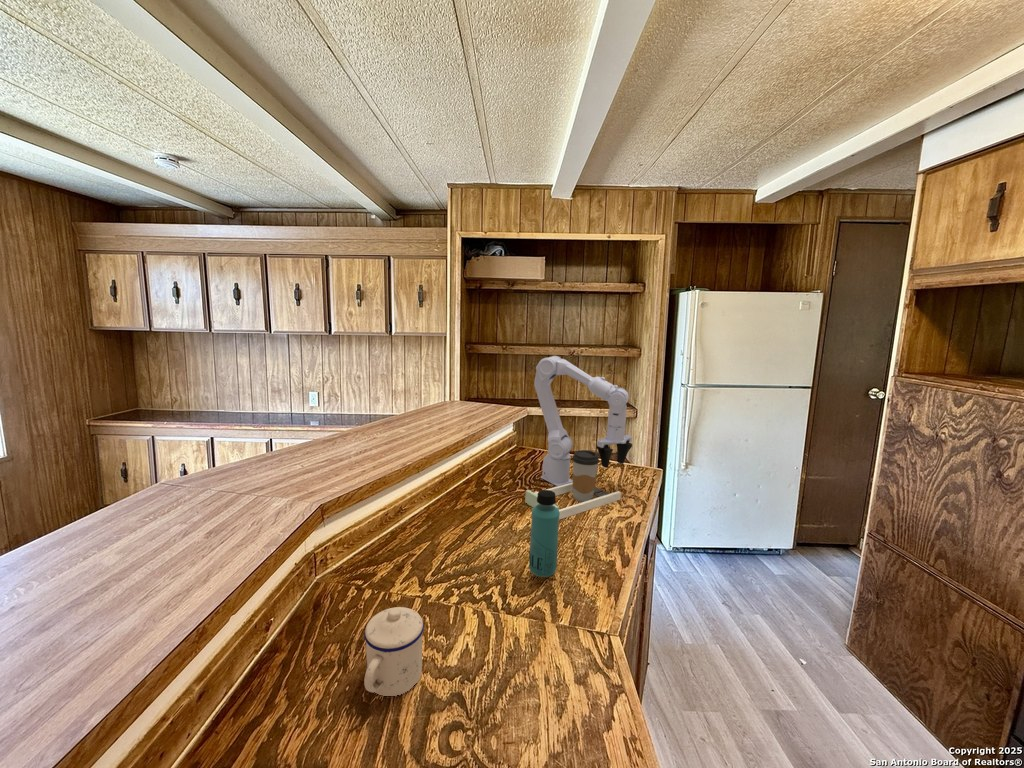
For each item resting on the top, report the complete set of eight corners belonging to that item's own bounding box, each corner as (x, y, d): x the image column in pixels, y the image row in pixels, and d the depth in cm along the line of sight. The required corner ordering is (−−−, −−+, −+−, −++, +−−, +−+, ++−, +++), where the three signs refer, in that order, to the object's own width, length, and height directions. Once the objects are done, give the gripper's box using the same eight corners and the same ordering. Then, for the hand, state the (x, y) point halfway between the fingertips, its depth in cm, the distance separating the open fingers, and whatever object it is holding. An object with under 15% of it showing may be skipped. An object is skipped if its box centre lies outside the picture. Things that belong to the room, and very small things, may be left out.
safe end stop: (525, 502, 137) (525, 490, 136) (528, 501, 138) (528, 489, 137) (555, 521, 126) (555, 507, 125) (558, 520, 126) (559, 506, 126)
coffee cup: (594, 494, 146) (598, 450, 143) (596, 505, 137) (600, 459, 135) (569, 492, 146) (572, 448, 144) (570, 502, 138) (573, 457, 136)
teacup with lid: (385, 648, 77) (385, 587, 75) (433, 661, 74) (433, 599, 72) (340, 706, 65) (338, 636, 63) (394, 724, 63) (394, 652, 61)
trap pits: (581, 489, 149) (581, 488, 149) (592, 486, 152) (592, 485, 152) (606, 501, 140) (606, 500, 140) (616, 497, 143) (616, 496, 143)
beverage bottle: (559, 570, 102) (564, 489, 98) (552, 587, 96) (557, 500, 92) (532, 564, 104) (536, 484, 101) (523, 580, 98) (528, 495, 94)
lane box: (525, 502, 137) (525, 495, 136) (588, 484, 153) (589, 477, 153) (555, 520, 126) (555, 512, 125) (620, 499, 142) (620, 492, 142)
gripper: (610, 431, 137) (606, 472, 139) (640, 425, 145) (636, 464, 148) (593, 425, 143) (590, 465, 145) (623, 420, 151) (620, 458, 153)
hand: (612, 464), depth 147 cm, fingers open, 7 cm apart
